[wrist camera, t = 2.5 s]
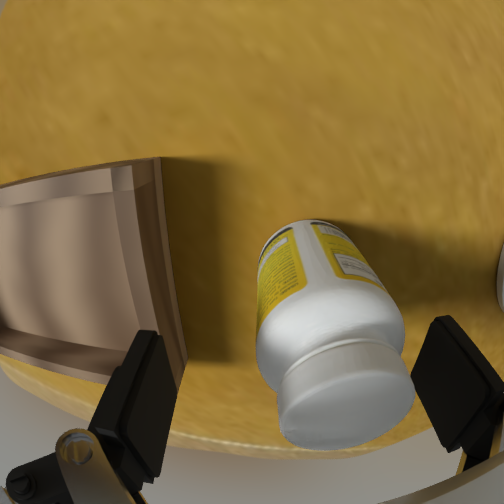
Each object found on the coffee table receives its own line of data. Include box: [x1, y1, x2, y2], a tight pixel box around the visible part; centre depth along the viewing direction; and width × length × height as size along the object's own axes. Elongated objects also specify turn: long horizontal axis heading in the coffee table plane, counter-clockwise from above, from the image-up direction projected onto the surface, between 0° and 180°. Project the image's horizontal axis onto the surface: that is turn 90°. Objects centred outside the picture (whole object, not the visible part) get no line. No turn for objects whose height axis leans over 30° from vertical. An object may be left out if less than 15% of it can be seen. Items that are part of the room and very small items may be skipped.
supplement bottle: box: [256, 220, 415, 450], centre depth 11 cm, size 5×5×10 cm
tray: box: [0, 157, 188, 394], centre depth 15 cm, size 20×13×4 cm, turn 91°
